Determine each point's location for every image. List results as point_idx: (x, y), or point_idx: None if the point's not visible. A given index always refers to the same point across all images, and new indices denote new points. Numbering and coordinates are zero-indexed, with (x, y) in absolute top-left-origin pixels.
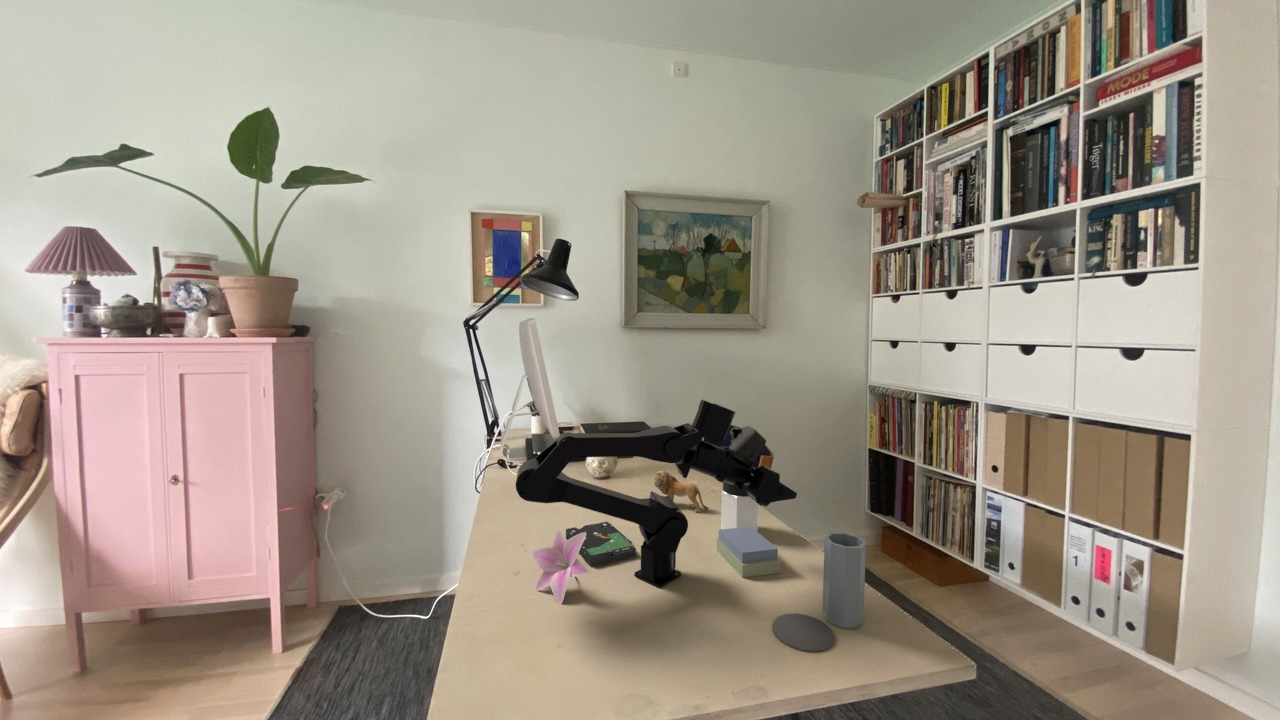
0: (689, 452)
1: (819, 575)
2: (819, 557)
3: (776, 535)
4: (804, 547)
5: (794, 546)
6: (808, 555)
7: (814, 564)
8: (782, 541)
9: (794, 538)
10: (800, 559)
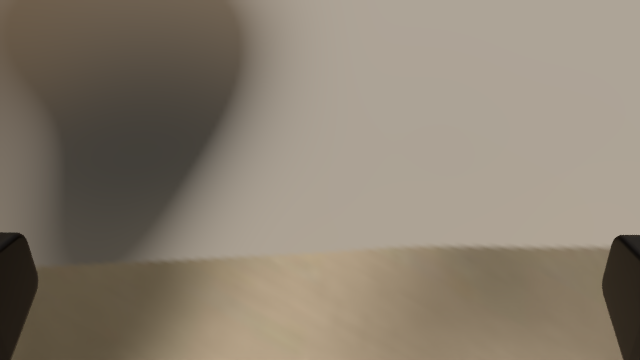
0: None
1: (466, 350)
2: (300, 259)
3: None
4: (191, 270)
5: (164, 309)
6: (270, 295)
7: (359, 315)
8: (92, 338)
9: (89, 266)
10: (298, 352)
